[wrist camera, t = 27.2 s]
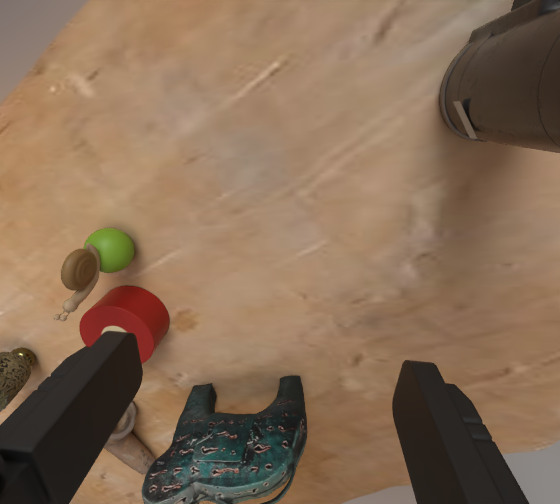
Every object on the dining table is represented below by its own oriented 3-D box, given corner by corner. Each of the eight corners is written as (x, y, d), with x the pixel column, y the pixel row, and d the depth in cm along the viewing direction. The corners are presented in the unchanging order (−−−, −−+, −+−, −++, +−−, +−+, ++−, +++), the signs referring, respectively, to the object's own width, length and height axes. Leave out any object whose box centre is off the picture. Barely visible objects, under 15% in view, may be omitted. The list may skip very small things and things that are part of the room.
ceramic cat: (193, 405, 52) (130, 563, 34) (180, 376, 49) (105, 531, 31) (309, 395, 48) (310, 564, 30) (302, 364, 46) (297, 528, 28)
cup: (36, 335, 48) (-13, 374, 41) (56, 370, 51) (14, 413, 44) (-5, 337, 49) (-60, 376, 42) (17, 372, 52) (-30, 414, 45)
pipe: (130, 489, 55) (167, 486, 51) (60, 434, 50) (95, 425, 46) (151, 452, 61) (186, 446, 56) (90, 398, 55) (123, 388, 51)
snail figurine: (104, 263, 42) (32, 317, 31) (99, 219, 39) (18, 260, 28) (143, 270, 41) (85, 326, 31) (141, 225, 39) (76, 270, 28)
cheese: (96, 282, 43) (70, 303, 38) (165, 288, 42) (148, 310, 38) (109, 339, 47) (87, 363, 42) (172, 345, 47) (157, 370, 42)
